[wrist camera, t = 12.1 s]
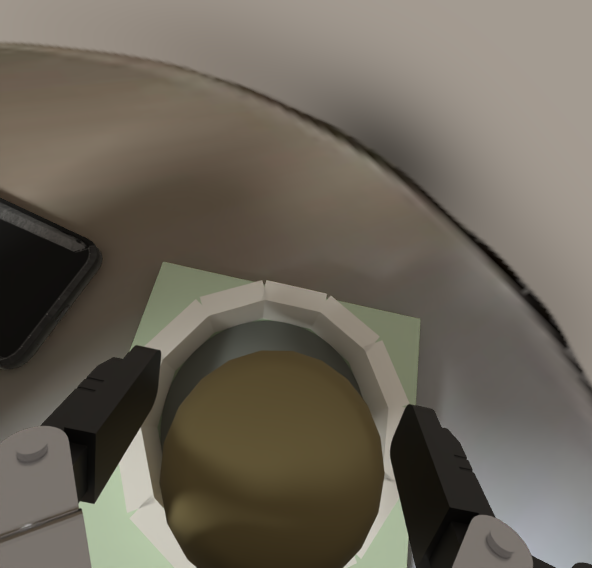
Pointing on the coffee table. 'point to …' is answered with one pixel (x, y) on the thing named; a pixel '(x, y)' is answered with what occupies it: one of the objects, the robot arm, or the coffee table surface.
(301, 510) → the cork
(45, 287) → the phone
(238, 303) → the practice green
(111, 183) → the coffee table surface
